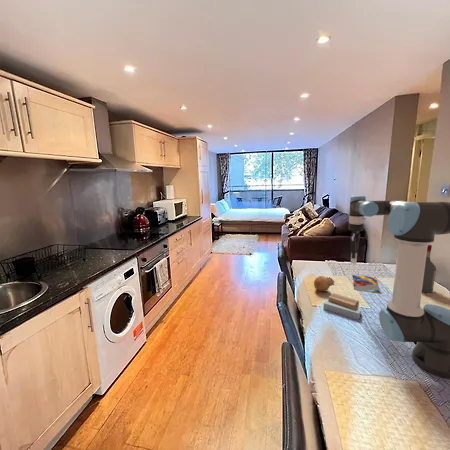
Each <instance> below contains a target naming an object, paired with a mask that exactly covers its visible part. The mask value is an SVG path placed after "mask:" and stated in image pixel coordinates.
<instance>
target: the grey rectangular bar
mask: <svg viewBox="0 0 450 450" xmlns="http://www.w3.org/2000/svg"><path fill="white" fill-rule="evenodd" d="M323 309H324V310H327V311H330V312H331V313H335V312H336V314H338V315H343V316H346V317H347V318H348V317H349V318H351V319H355V320H359V319H360V317H361V311H360V310H359V309H358V310H355V309H351V308H348V307H344V306H341V305H337V304H334V303H330V302H328V301H327V300H325V301H324V302H323Z"/></svg>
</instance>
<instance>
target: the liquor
mask: <svg viewBox="0 0 450 450" xmlns="http://www.w3.org/2000/svg"><path fill="white" fill-rule="evenodd" d="M432 247H433V246H432V244H429V245H428V247H427V255H426V262H425V270H424V278H423V285H422V292H424V293H426V294H431V293H433V291H434V285H435V280H436V273H437V268H436V266H435V264H434V262H432V261H431V255H432V253H431V251H432ZM424 293H423V294H424Z"/></svg>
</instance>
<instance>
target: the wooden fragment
mask: <svg viewBox="0 0 450 450" xmlns="http://www.w3.org/2000/svg"><path fill="white" fill-rule="evenodd" d="M328 277H329V278H328ZM328 277H326V278H327V279H328V280H329V283H330V286H333V285H334V284H335V281H334V279H333V278H332V277H331V276H328ZM330 277H331V278H330ZM330 286H329V288H330Z"/></svg>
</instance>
